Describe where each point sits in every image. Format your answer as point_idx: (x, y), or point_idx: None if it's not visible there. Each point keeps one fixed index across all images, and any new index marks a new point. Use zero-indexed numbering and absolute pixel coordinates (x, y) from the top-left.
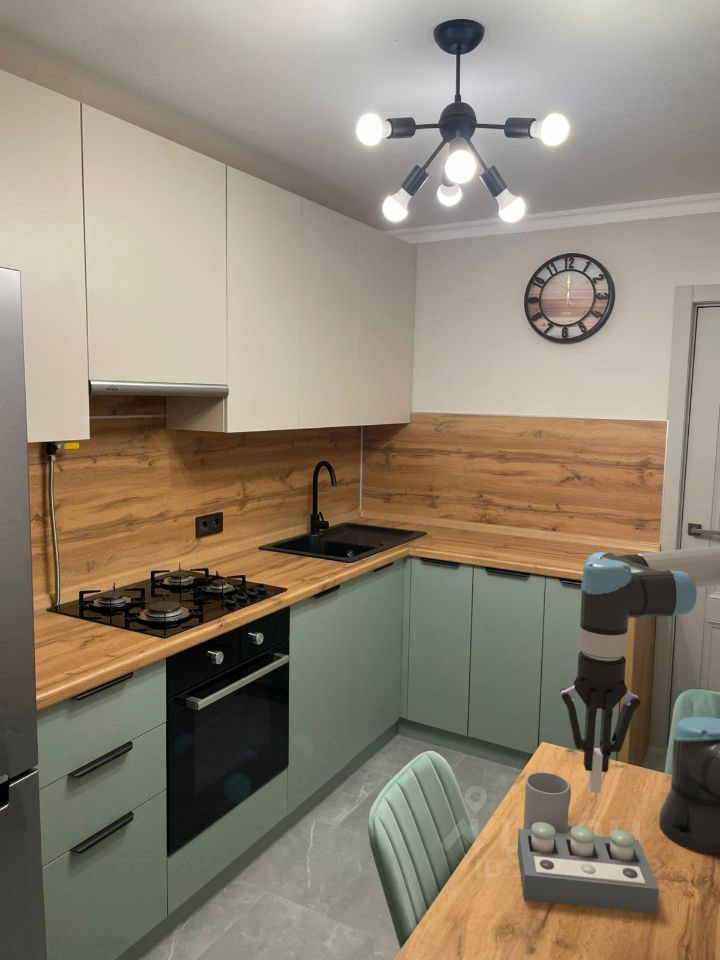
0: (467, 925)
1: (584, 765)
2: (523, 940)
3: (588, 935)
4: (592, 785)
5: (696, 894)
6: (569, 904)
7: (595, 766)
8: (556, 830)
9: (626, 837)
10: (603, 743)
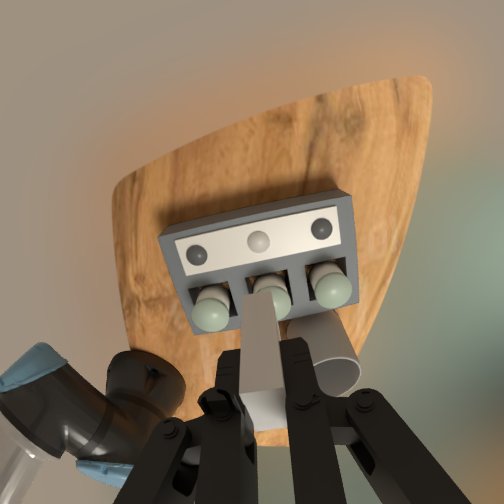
0: (395, 120)
1: (309, 352)
2: (331, 110)
3: (250, 147)
4: (270, 302)
5: (131, 281)
6: (279, 200)
7: (267, 350)
8: (305, 325)
9: (204, 316)
10: (236, 448)
